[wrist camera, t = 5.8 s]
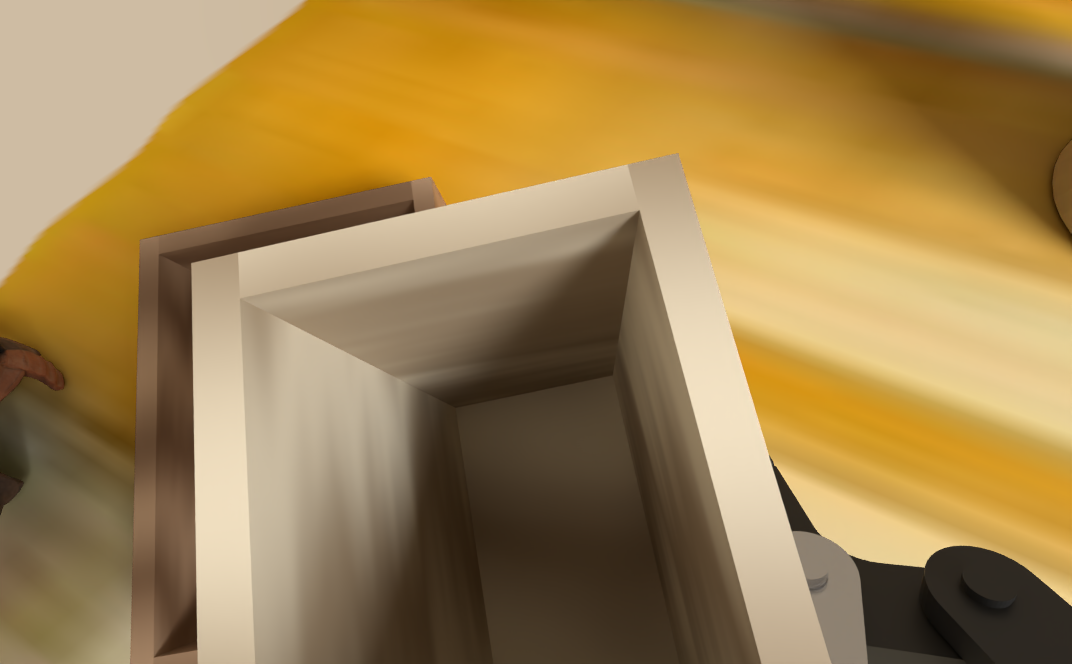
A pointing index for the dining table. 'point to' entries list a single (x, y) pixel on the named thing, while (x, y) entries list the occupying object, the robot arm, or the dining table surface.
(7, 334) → the dining table surface
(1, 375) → the pottery mug
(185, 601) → the walnut crate
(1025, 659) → the robot arm
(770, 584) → the birch crate
